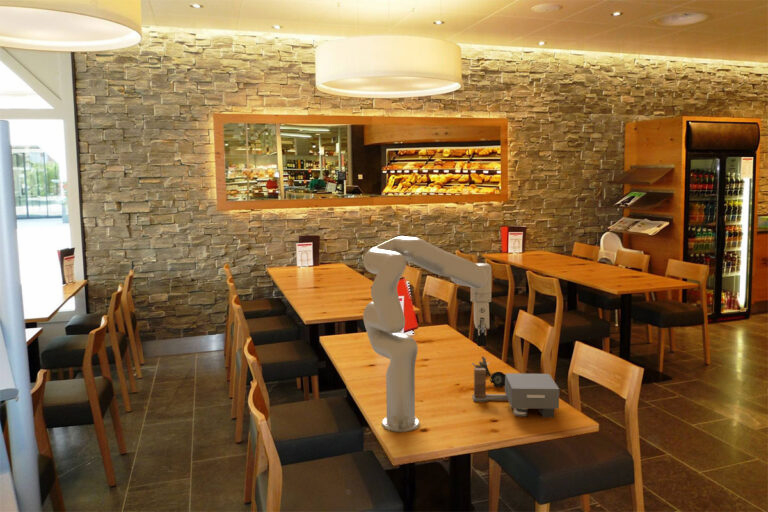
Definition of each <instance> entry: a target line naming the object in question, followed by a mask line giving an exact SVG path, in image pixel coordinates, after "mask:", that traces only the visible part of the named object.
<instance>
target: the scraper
mask: <svg viewBox="0 0 768 512" xmlns="http://www.w3.org/2000/svg"><path fill="white" fill-rule="evenodd" d="M473 371H474V372H473V374H474V378H473V384H474V386H473V394H472V400H473V403H474V402H475V403H476V402H477V403H478V402H480V403H485V402H486V403H487V402H488V401H508V398H507V396H506V394H501V393H500V394H498V393H497V394H496V393H495V394H492V393H491V394H487V393H486V392H487V391H486V388H487V387H486V385H487V379H486V378H487V375H486V369H485V368H475V367H474V369H473Z"/></svg>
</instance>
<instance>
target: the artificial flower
mask: <svg viewBox="0 0 768 512" xmlns="http://www.w3.org/2000/svg"><path fill="white" fill-rule="evenodd" d="M480 359H481V360H482V361H480V360H479V361H478V363H479V364H475V363H474V362H472V363H471V365H473V367H474V368H485V369H486V376H488V377H490V379H489V380H490V384H492V386H493V388H495V389H496V388H505V373H504V372H503V371H495V372H493V373H492V374H490V370H489V368H488V365H489V364H490V362H487V358H486V357H485V356H481V358H480Z"/></svg>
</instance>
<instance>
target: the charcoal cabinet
mask: <svg viewBox="0 0 768 512" xmlns="http://www.w3.org/2000/svg"><path fill="white" fill-rule="evenodd" d="M504 374H505V386H504V393H505V395H506V396H507V398H508V400H507V401H508V403H509V405H510V408H511V409H513V408H527V409H537V410H538V412H539V414H540V415H541V417H542V418H553V417H554V418H555V410H556V409H557V410H559V408H560V388H559V386H558V384H557V383H556V382H555V381H554V379H553V377H552V376H551V375H550V373H517V372H515V373H511V372H510V373H504Z"/></svg>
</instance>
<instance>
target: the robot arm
mask: <svg viewBox="0 0 768 512" xmlns="http://www.w3.org/2000/svg"><path fill="white" fill-rule="evenodd" d="M362 261H363V263H362V264H363V267H364V268H365V270H366V271H367V272H369V273H370V274H373V275H375V277H374V280H373V282H372V285H371V288H370V295H371V296H370V297H371V300H372V301H370V302H368V304H366V305H365V308H364V310H363V317H362V320H363V324H364V327H365V330H366V333H367V336H368V340H369V343H370V345H371V348H372V350H373V351H374V352H375V353H376V354H377V355H379V356H381V357H385V358H386V359H388V360H390V361H389V365H388V366H387V368H386V372H385V375H386V376H385V377H386V379H385V382H386V383H385V384H386V385H385V386H386V387H385V388H386V393H385V394H386V417H384V418H383V419H382V421H381V425H382V427H383V428H384V429H386V430H388V431H390V432H395V433H396V432H398V433H404V432H405V433H406V432H411V431H414V430H416V429H418V427H420V420H419V419H418V418H417V417H416V415H415V414H416V409H415V408H416V406H415V405H416V401H415V400H416V399H415V397H416V396H415V395H416V394H415V392H416V391H415V389H416V387H415V386H416V381H415V380H416V378H415V375H416V373H415V372H416V369H415V368H416V362H417V355H418V350H419V349H418V348H419V347H418V343H417V341H416V340H415V339H414V338H413V337H412V336H411V335H409V334H406V333H404V332H402V331H403V330H404V328H405V325H406V319H405V314H404V310H403V308H402V307H403V306H402V305H401V301H400V297H399V294H398V285H399V282H400V279H401V278H402V276H403V274H404V273H405V270H406V265H407V262H409V263H410V264H414V265H415V266H419V267H420V268H423V269H424V270H427V271H428V272H430V273H432V274H436V275H438V276H442V277H446V278H450V280H451V282H452V283H453V284H456V285H458V286H463V287H467V288H468V287H469V288H470V302H472V303H473V323H474V327H475V328H474V339H475V340H477V341H476V342H477V345H476V346H478V347H486V346H487V330H490V304H489V303H491V302H492V272H493V271H492V266H491V264H489V263H486V262H476V263H475V262H473V261H470V260H469V259H466V258H463V257H461V256H458V255H456V254H453V253H451V252H448V251H446V250H443V249H442V248H439V247H438V246H435V245H434V244H432V243H430V242H428V241H426V240H425V239H422V238H419V237H416V236H405V235H399V236H396V237H394V238H391V239H389V240H386V241H384V242H382V243H380V244H378V245H376V246H373V247H371V248H370V249H369V250H368V251H366V252H365V254H364V256H363V260H362Z"/></svg>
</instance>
